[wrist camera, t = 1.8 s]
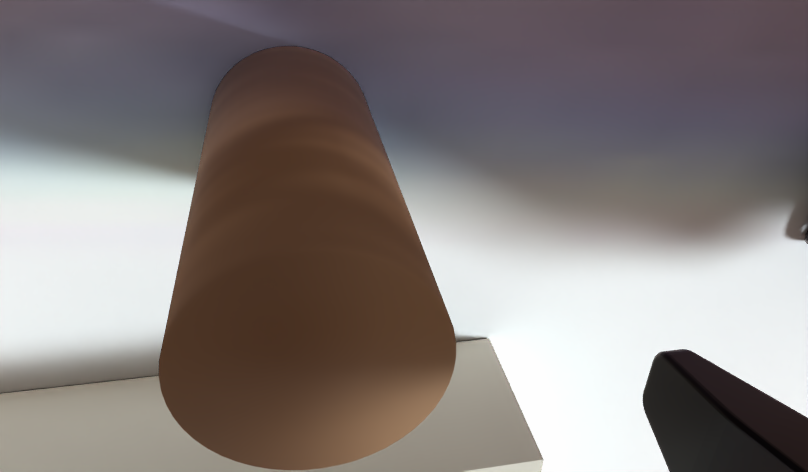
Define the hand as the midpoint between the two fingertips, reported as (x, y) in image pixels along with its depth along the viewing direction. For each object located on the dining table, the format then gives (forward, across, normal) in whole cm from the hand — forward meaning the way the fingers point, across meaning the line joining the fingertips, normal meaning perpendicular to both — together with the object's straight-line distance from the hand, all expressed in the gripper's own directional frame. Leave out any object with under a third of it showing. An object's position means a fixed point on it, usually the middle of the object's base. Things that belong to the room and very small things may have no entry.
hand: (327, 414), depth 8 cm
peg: (+10, 0, 0) cm, 10 cm away
